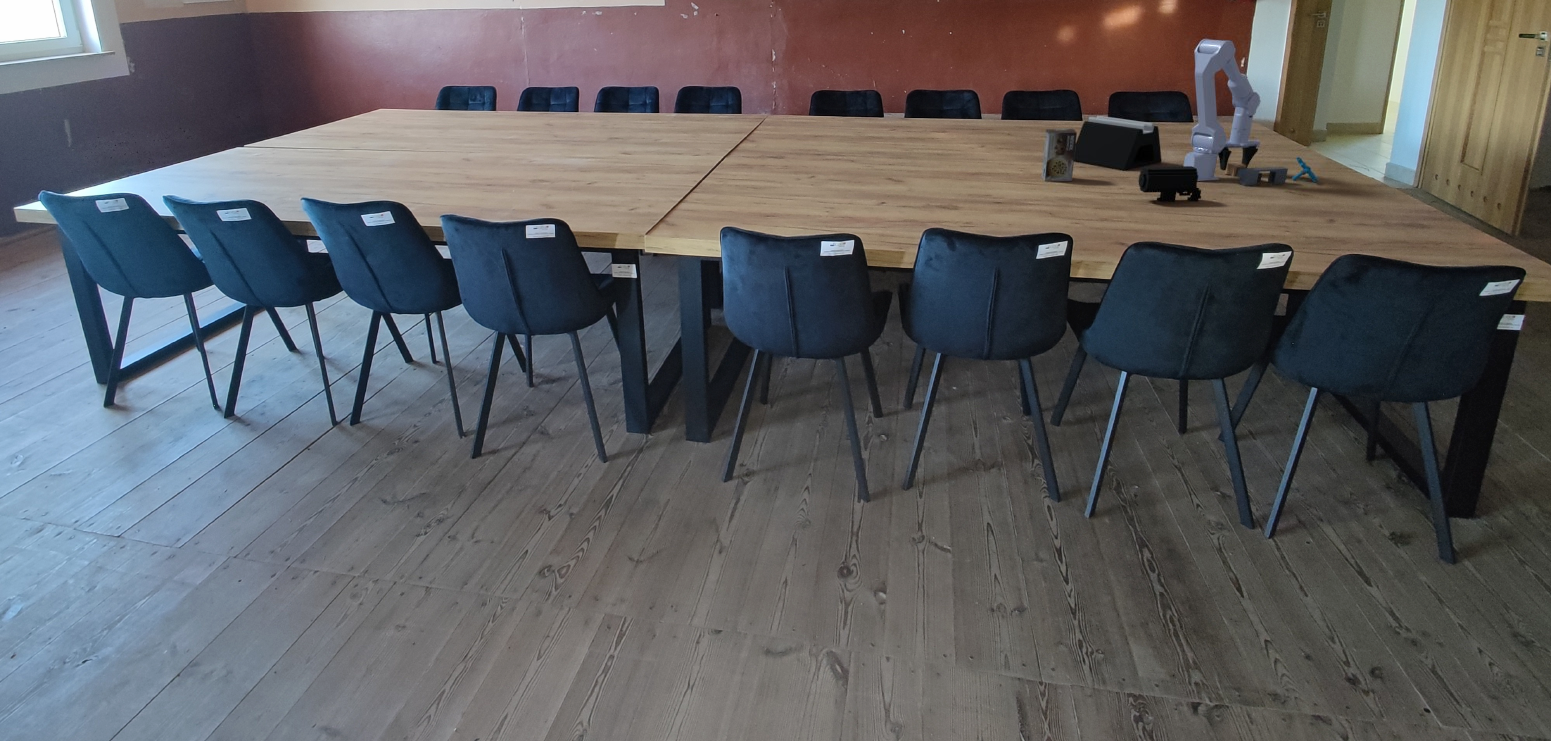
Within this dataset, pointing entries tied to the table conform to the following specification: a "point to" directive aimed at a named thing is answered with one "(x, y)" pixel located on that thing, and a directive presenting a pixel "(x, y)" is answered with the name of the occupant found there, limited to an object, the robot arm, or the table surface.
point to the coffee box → (1059, 154)
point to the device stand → (1118, 143)
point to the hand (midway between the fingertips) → (1233, 169)
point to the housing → (1251, 174)
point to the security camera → (1170, 182)
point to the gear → (1305, 171)
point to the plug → (1238, 170)
